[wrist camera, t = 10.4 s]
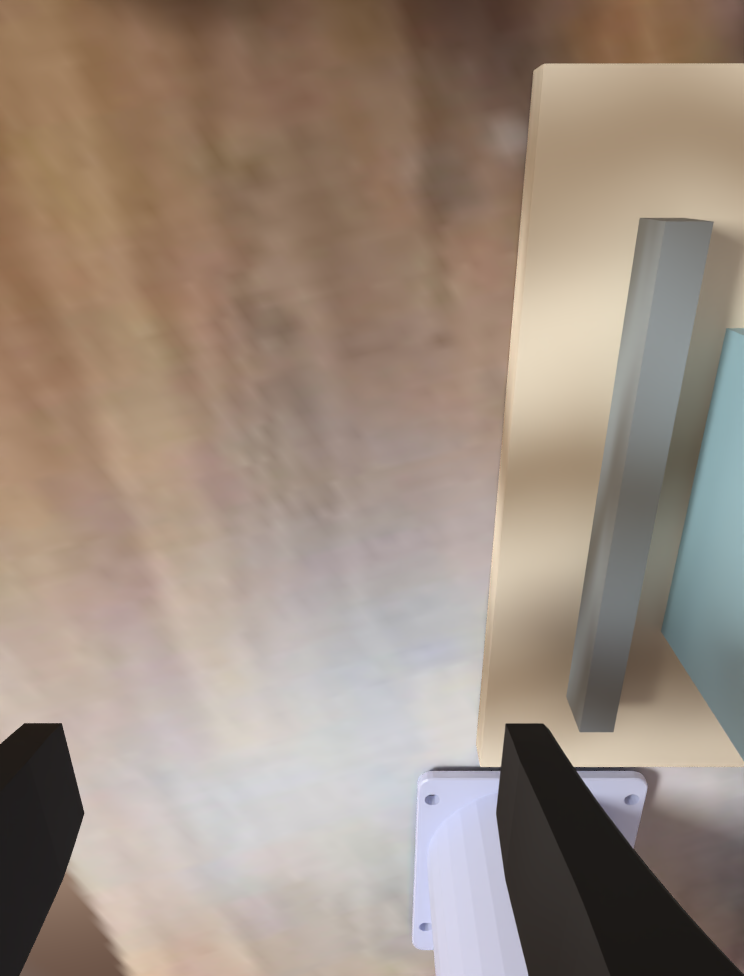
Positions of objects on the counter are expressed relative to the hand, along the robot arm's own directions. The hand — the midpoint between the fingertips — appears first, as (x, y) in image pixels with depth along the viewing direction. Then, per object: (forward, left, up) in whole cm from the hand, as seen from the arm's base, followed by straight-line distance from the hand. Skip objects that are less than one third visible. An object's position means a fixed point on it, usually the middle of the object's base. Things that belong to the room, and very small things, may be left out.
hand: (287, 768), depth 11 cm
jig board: (+1, -12, -9) cm, 15 cm away
